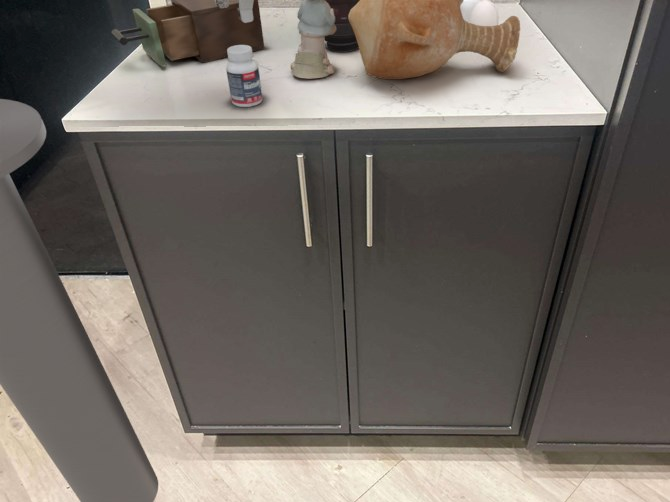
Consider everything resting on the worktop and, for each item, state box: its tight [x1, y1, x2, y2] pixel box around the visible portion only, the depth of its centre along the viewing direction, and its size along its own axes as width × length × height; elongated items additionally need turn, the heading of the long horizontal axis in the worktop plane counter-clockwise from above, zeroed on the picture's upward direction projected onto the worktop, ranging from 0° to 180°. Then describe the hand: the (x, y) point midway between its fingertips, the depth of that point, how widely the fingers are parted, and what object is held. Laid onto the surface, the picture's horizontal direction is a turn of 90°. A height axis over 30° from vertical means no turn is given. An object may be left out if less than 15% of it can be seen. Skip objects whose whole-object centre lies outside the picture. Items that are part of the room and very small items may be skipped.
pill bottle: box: [225, 45, 263, 108], centre depth 95 cm, size 5×5×9 cm
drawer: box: [111, 3, 199, 67], centre depth 112 cm, size 18×11×8 cm, turn 123°
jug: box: [348, 0, 521, 80], centre depth 101 cm, size 20×19×30 cm
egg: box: [469, 0, 500, 26], centre depth 118 cm, size 6×6×8 cm
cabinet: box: [170, 0, 266, 64], centre depth 116 cm, size 14×13×10 cm
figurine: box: [290, 0, 336, 80], centre depth 101 cm, size 9×8×20 cm
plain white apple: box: [460, 0, 483, 23], centre depth 127 cm, size 7×7×8 cm
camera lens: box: [325, 0, 360, 53], centre depth 113 cm, size 8×8×15 cm
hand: (234, 13), depth 89 cm, fingers open, 8 cm apart
